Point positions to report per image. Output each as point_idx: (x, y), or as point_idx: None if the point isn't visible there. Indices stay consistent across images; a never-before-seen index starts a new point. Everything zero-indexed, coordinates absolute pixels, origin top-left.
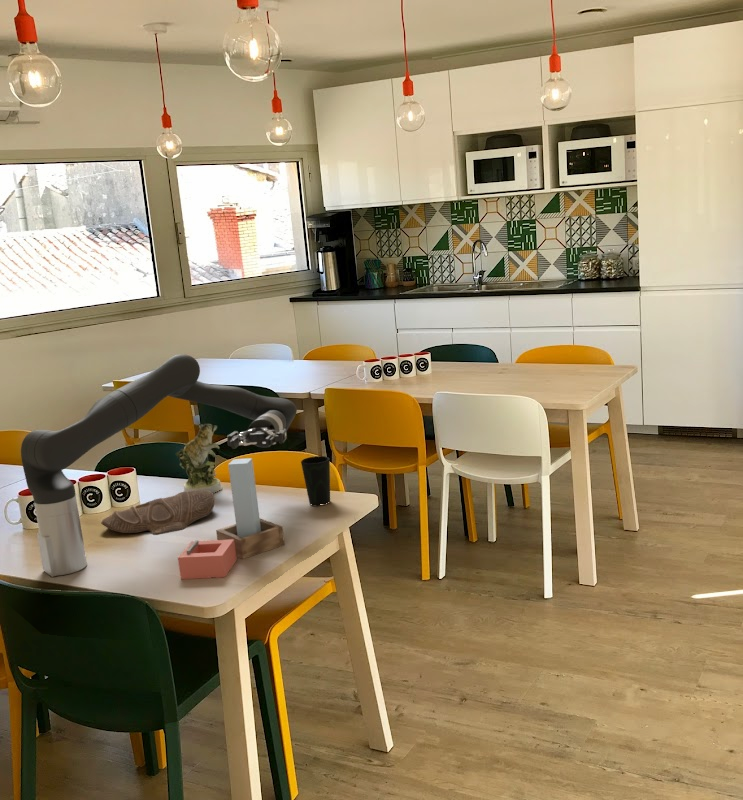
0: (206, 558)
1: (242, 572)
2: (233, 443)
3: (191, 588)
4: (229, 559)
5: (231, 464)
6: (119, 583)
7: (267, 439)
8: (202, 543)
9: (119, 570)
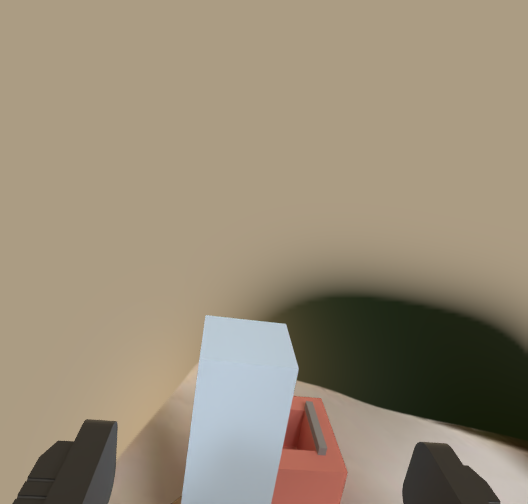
0: None
1: None
2: (418, 456)
3: None
4: None
5: (272, 323)
6: (425, 440)
7: (95, 420)
8: (308, 455)
9: None
